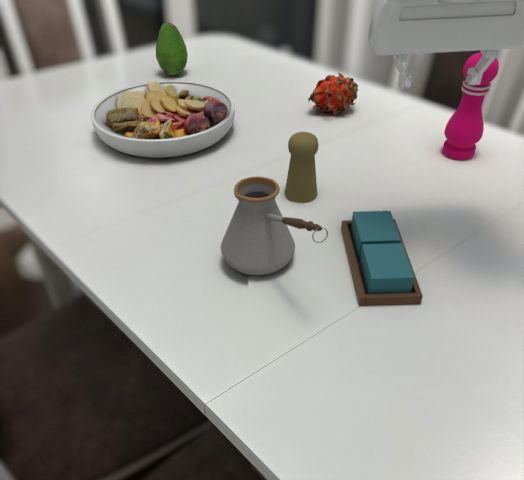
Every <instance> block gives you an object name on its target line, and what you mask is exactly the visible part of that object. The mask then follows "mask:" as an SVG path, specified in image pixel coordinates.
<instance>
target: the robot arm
mask: <svg viewBox="0 0 524 480" xmlns="http://www.w3.org/2000/svg"><path fill="white" fill-rule="evenodd" d="M373 4H374V5H373V9H372V13H371V17H370V24H369V30H368V45H369V47H370V49H371V50H372V51H373V53H374V54H375V55H376V56H382V57H383V56H393V57H392V59H393V61H394V63H395V66H396V69H397V71H398V79H397V87H398V88H399V90H405V89H411V88H412V82H413V78H414V75H413V74H412V71H410V70H406V69H405V67H404V64H405V63H408V58H409V55H418V54H420V55H421V54H436V53H439V54H440V53H457V52H476V51H477V52H478V51H480V52H479V53H481V54H482V55H483V56H482V57H481V59H480V60H479V61H478V63H477V64H476V66H475V67H474V68H468V72H467V73H468V75H467V76H466V83H467V84H468V85H480V83H481V79H482V75H483V72H485V70H486V69H487V68H488V67H489V65H490V64H491V63H492V62H493V61H494V59H495V58H497V54H498V51H499V50H514V49H517V50H518V49H521V48H522V47H523V46H524V0H374V3H373Z"/></svg>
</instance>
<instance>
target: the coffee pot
mask: <svg viewBox="0 0 524 480" xmlns="http://www.w3.org/2000/svg"><path fill="white" fill-rule="evenodd" d="M280 190H281V187H280V185H279V183H278V182H277V181H276V180H274V179H272V178H269V177H265V176H258V175H257V176H248V177H245V178H241V180H239V181H237V183H235V185H234V188H233V195H234V197H235V198H236V199H237V201H238V203H237V205H236V208H235V209H234V212H233V214H232V217H231V219H230V221H229V224H228V226H227V229H226V231H225V233H224V236H223V238H222V240H221V244H220V252H221V255H222V257H223V258H224V261H226V264H228V265H229V266H230V267H231V268H232V269H234V270H236V271H237V272H239V273H241V274H243V275H245V276H249V275H250V276H265V275H270V274H274V273H276V272H278V271H280V270H282V269H283V268H284V267H285V266H286V265H288V264H289V263H290V261H291V260H292V258H293V256H294V254H295V251H296V242H295V240H294V237H293V235H292V232H291V231H290V229H289V227H288V226H290V227H292V228H294V229H298V230H306V231H307V232H312V234H311V239H312V241H313V242H314V243H317V244H321V243H323V242H325V241H326V240H327V238H328V237H329V231H328V229H327V228H325V227H323V226H321V225H319V224H318V223H314V222H313V221H312V220H309V221H306V220H304V219H303V218H296V217H289V216H288V217H287V216H283V214H282V211H281V210H280V208H279V206H278V203H277V201H276V198H277V197H278V195H279V194H280ZM322 230H325V232H326V236H325V237H324V239H321V241H316V240H315V238H314V236H315V233H316V232H320V231H322Z"/></svg>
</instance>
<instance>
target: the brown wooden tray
mask: <svg viewBox="0 0 524 480" xmlns="http://www.w3.org/2000/svg"><path fill="white" fill-rule="evenodd" d="M393 220H394V222H395V225H396V228H397V231H398V234H399V236H400V239H401V242H400V243H402V244H403V246H404V249H405V252H406V255H407V258H408V260H409V263H410V266H411V269H412V271H413V274H414V277H415V278H414V282H413V286H412V290H411V293H393V294H366V292H365V288H364V284H363V280H362V276H361V272H360V268H359V262H358V261H357V257H356V253H355V249H354V245H353V241H352V237H351V233H350V231H351V224H352V219H350V220H341V224H340V231H341V235H342V241H343V243H344V248H345V252H346V256H347V260H348V266H349V269H350V273H351V277H352V282H353V286H354V287H353V288H354V291H355V295H356V299H357V303H358V304H357V305H358V307H378V306H406V305H407V306H413V305H421V304H422V300H423V292H422V290H421V287H420V284H419V282H418V279H417V275H416V273H415V270H414V267H413V265H412V262H411V260H410V257H409V254H408V252H407V248H406V246H405V243H404V240H403V237H402V235H401V233H400V229H399V227H398V223H397V222H396V219H395V218H393Z"/></svg>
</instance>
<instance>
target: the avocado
mask: <svg viewBox="0 0 524 480" xmlns="http://www.w3.org/2000/svg"><path fill="white" fill-rule="evenodd" d="M187 49H188V48H187V45H186V43H185V40H184V38H183V36H182V34H181V31H180V30H179V29H178V27H177V26H176V25H175V24H173V23H172V22H169V21H167V22H164V23H163V24H161V26H160V28H159V30H158V34H157V39H156V44H155V59H156V61H157V63H158V66H159V68H161V70H162V71H163V72H164V73H165V74H166V75H169V76H178V75H180V74H181V73H182V72H183V71H184V69H185V68H186V67H187V64H188V58H189V57H188V50H187Z"/></svg>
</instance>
